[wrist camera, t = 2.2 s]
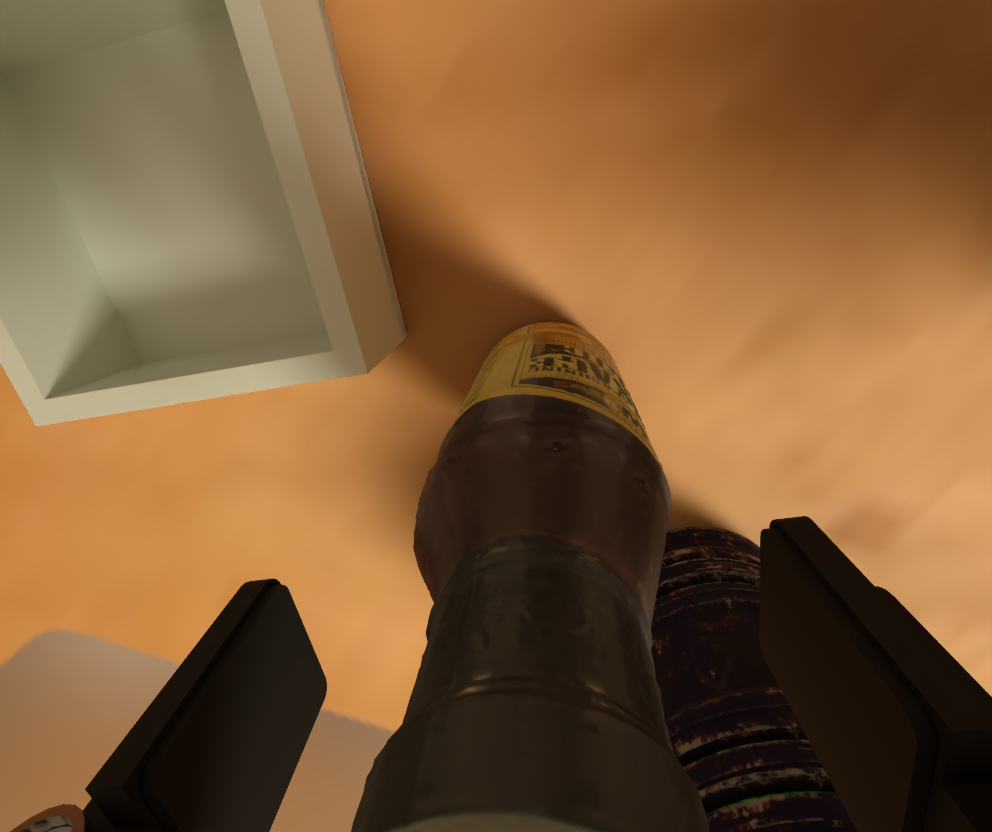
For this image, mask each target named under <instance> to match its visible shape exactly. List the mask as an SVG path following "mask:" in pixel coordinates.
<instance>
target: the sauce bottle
mask: <svg viewBox="0 0 992 832" xmlns="http://www.w3.org/2000/svg"><path fill="white" fill-rule="evenodd" d="M670 513H671V494H670V489H669V485H668V482H667V479H666V476H665V474H664V472H663V469H662V465H661V463H660V462H659V460H658V458H657V456H656V453H655V451H654V449H653V447H652V444H651V442H650V440H649V437H648V435H647V433H646V430H645V426H644V424H643V423H642V420H641V418H640V416H639V414H638V412H637V409H636V407H635V405H634V403H633V401H632V399H631V396H630V394H629V392H628V390H627V388H626V386H625V384H624V381H623V379H622V377H621V375H620V373H619V370H618V368H617V366H616V364H615V362H614V360H613V358H612V356H611V355H610V353H609V352H608V350H607V349H606V348H605V347H604V346H603V345H602V343H600V342H599V341H598V340H597V339H596V338H595V337H594V336H592V335H591V334H589V333H588V332H586V331H584V330H582V329H580V328H578V327H576V326H573V325H569V324H565V323H563V322H560V321H555V320H550V321H547V322H541V323H535V324H530V325H527V326H524V327H521V328H519V329H517V330H515V331H514V332H512V333H510V334H509V335H507V336H506V337H505V338H503V339H502V340H501V341H500V342H499V343H498V344H497V345H496V346H495V347H494V348H493V349H492V350H491V352H490V353H489V355H488V356H487V358H486V360H485V361H484V363H483V365H482V367H481V369H480V371H479V373H478V375H477V377H476V379H475V381H474V383H473V385H472V387H471V389H470V391H469V393H468V395H467V397H466V399H465V401H464V403H463V404H462V406H461V408H460V410H459V412H458V414H457V416H456V417H455V419H454V421H453V423H452V425H451V427H450V429H449V431H448V433H447V435H446V437H445V439H444V441H443V443H442V445H441V447H440V451H439V455H438V459H437V461H436V463H435V465H434V467H433V468H432V469H431V470H430V471H429V472H428V477H427V479H426V483H425V485H424V488H423V490H422V493H421V497H420V500H419V504H418V510H417V514H416V525H415V531H414V546H413V548H414V552H415V556H416V560H417V564H418V567H419V570H420V572H421V575H422V577H423V580H424V582H425V584H426V585H427V588H428V590H429V591H430V595H431V598H432V600H433V601H434V605H433V607H432V609H431V612H430V615H429V620H428V625H427V630H426V637H427V641H428V643H427V646H426V649H425V652H424V654H423V656H422V661H421V667H420V669H419V671H418V675H417V679H416V682H415V685H414V688H413V691H412V694H411V697H410V700H409V703H408V707H407V710H406V714H405V716H404V720H403V724H402V725H401V726H400V728H399V729H398V730H397V731H396V732H395V733H394V734H393V735H392V736H391V738H390V739H389V740H388V741H387V743H386V745H385V746H384V748H383V749H382V750H381V752H380V753H379V754H378V756H377V757H376V758H375V760H374V764H373V767H372V770H371V771H370V773H369V774H368V776H367V778H366V783H365V788H364V792H363V795H362V798H361V801H360V804H359V807H358V810H357V813H356V816H355V819H354V822H353V826H352V830H351V832H709V822H708V819H707V816H706V813H705V810H704V807H703V804H702V801H701V797H700V793H699V790H698V789H697V788H696V786H695V785H694V784H693V782H692V781H691V780H690V778H689V777H688V775H687V773H686V772H685V770H684V769H683V767H682V765H681V764H680V762H679V761H678V759H677V758H676V756H675V755H674V753H673V749H672V745H671V742H670V738H669V732H668V729H667V726H666V723H665V721H664V711H663V706H662V701H661V694H660V688H659V686H658V684H657V681H656V678H655V669H654V662H653V657H652V653H651V647H652V643H653V641H652V634H651V624H652V618H653V612H654V606H655V600H656V594H657V588H658V583H659V577H660V571H661V565H662V559H663V553H664V547H665V541H666V536H667V530H668V524H669V518H670Z"/></svg>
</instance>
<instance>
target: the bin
mask: <svg viewBox="0 0 992 832" xmlns="http://www.w3.org/2000/svg"><path fill="white" fill-rule="evenodd" d="M407 337H408V336H407V332H406V328H405V324H404V320H403V316H402V312H401V308H400V304H399V300H398V296H397V292H396V288H395V284H394V280H393V276H392V273H391V269H390V265H389V261H388V257H387V253H386V249H385V245H384V241H383V237H382V233H381V229H380V225H379V221H378V217H377V213H376V209H375V205H374V201H373V197H372V193H371V189H370V185H369V181H368V177H367V173H366V169H365V165H364V161H363V157H362V154H361V150H360V146H359V142H358V138H357V134H356V130H355V126H354V122H353V118H352V114H351V110H350V106H349V102H348V98H347V94H346V90H345V86H344V82H343V78H342V74H341V70H340V66H339V62H338V58H337V54H336V50H335V46H334V42H333V38H332V34H331V31H330V27H329V23H328V19H327V15H326V11H325V7H324V3H323V0H0V363H1V365H2V367H3V369H4V371H5V372H6V374H7V376H8V378H9V379H10V381H11V383H12V385H13V386H14V388H15V390H16V392H17V394H18V395H19V397H20V399H21V401H22V402H23V404H24V406H25V408H26V409H27V411H28V413H29V415H30V417H31V418H32V420H33V422H34V424H35V425H36V426H42V425H49V424H55V423H61V422H67V421H74V420H80V419H86V418H92V417H99V416H105V415H111V414H117V413H124V412H130V411H136V410H142V409H149V408H155V407H161V406H167V405H174V404H180V403H186V402H192V401H199V400H205V399H211V398H217V397H224V396H230V395H236V394H242V393H249V392H255V391H261V390H267V389H274V388H280V387H286V386H292V385H298V384H305V383H311V382H317V381H323V380H330V379H336V378H342V377H348V376H355V375H361V374H367V373H369V372H370V371H371V370H372V369H373V368H374V367H375V366H376V365H377V364H378V363H380V362H381V361H382V360H383V359H384V358H385V357H386V356H387V355H388V354H389V353H390V352H391V351H393V350H394V349H395V348H396V347H397V346H398V345H399V344H400V343H401V342H402V341H403V340H404V339H406V338H407Z"/></svg>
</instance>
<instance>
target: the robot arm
mask: <svg viewBox="0 0 992 832" xmlns="http://www.w3.org/2000/svg"><path fill="white" fill-rule="evenodd" d="M759 641H760V647H761V650H762V654H763V656H764V659H765V661H766V663H767V665H768V666H769V668H770V670H771V672H772V674H773V676H774V678H775V679H776V681H777V683H778V685H779V687H780V689H781V691H782V692H783V694H784V696H785V698H786V700H787V702H788V704H789V705H790V707H791V709H792V711H793V713H794V715H795V717H796V718H797V720H798V722H799V724H800V726H801V728H802V729H803V731H804V733H805V735H806V737H807V739H808V741H809V742H810V744H811V746H812V748H813V750H814V752H815V754H816V755H817V757H818V759H819V761H820V763H821V765H822V767H823V768H824V770H825V772H826V774H827V776H828V778H829V780H830V781H831V783H832V785H833V787H834V789H835V791H836V792H837V794H838V796H839V798H840V800H841V802H842V804H843V805H844V807H845V809H846V811H847V813H848V815H849V817H850V818H851V820H852V822H853V824H854V826H855V828H856V830H857V831H858V832H992V697H991V696H990V695H989V694H988V693H987V692H986V691H985V690H984V689H983V688H982V687H981V686H980V685H979V684H978V683H977V681H976V680H975V679H974V678H973V677H972V676H971V675H970V674H969V673H968V672H967V671H966V670H965V669H964V668H963V667H962V666H961V665H960V664H959V663H958V662H957V661H956V660H955V659H954V658H953V657H952V656H951V655H950V654H949V653H948V652H947V651H946V650H945V649H944V647H943V646H942V645H941V644H940V643H939V642H938V641H937V640H936V639H935V638H934V637H933V636H932V635H931V634H930V633H929V632H928V631H927V630H926V629H925V628H924V627H923V626H922V625H921V624H920V623H919V622H918V621H917V620H916V619H915V618H914V617H913V616H912V614H911V613H910V612H909V611H908V610H907V609H906V608H905V607H904V606H903V605H902V604H901V603H900V602H899V601H898V600H897V599H896V598H895V597H894V596H893V595H892V594H890V593H889V592H888V591H887V590H886V589H883V588H881V587H878V586H877V587H875V586H874V585H873V584H872V583H871V582H870V581H869V580H868V579H867V578H866V577H865V576H864V575H863V574H862V572H861V571H860V570H859V569H858V568H857V567H856V566H855V565H854V564H853V563H852V562H851V561H850V560H849V559H848V558H847V557H846V556H845V554H844V553H843V552H842V551H841V550H840V549H839V548H838V547H837V546H836V545H835V544H834V543H833V542H832V541H831V540H830V539H829V538H828V536H827V535H826V534H825V533H824V532H823V531H822V530H821V529H820V528H819V527H818V526H817V525H816V524H815V523H814V522H813V521H812V520H811V519H810V518H809V517H806V516H801V517H793V518H784V519H776V520H773V521H771V523H770V527H769V529H763V530H762V531H761V536H760V620H759ZM326 691H327V681H326V677H325V675H324V673H323V670H322V668H321V665H320V663H319V661H318V658H317V656H316V653H315V651H314V649H313V646H312V644H311V642H310V639H309V637H308V634H307V632H306V630H305V627H304V625H303V623H302V620H301V618H300V615H299V613H298V611H297V608H296V606H295V603H294V601H293V599H292V596H291V594H290V592H289V590H288V588H287V587H286V586H285V585H281V583H280V582H279V581H278V580H277V579H266V580H257V581H249V582H246V583H244V584H243V585H242V586H241V587H240V589H239V590H238V591H237V593H236V594H235V595H234V596H233V598H232V599H231V600H230V602H229V603H228V604H227V606H226V607H225V608H224V609H223V611H222V612H221V613H220V615H219V616H218V617H217V618H216V620H215V621H214V622H213V624H212V625H211V626H210V628H209V629H208V630H207V631H206V633H205V634H204V635H203V637H202V638H201V639H200V641H199V642H198V643H197V644H196V646H195V647H194V648H193V650H192V651H191V652H190V654H189V655H188V656H187V657H186V659H185V660H184V661H183V663H182V664H181V665H180V667H179V668H178V669H177V670H176V672H175V673H174V674H173V676H172V677H171V678H170V680H169V681H168V682H167V683H166V685H165V686H164V687H163V689H162V690H161V691H160V692H159V694H158V695H157V696H156V698H155V699H154V700H153V702H152V703H151V704H150V705H149V707H148V708H147V710H146V711H145V712H144V713H143V715H142V716H141V717H140V719H139V720H138V721H137V722H136V724H135V725H134V726H133V728H132V729H131V730H130V731H129V733H128V734H127V735H126V737H125V738H124V739H123V741H122V742H121V743H120V744H119V746H118V747H117V748H116V750H115V751H114V752H113V754H112V755H111V756H110V757H109V759H108V760H107V761H106V763H105V764H104V765H103V767H102V768H101V769H100V770H99V772H98V773H97V774H96V776H95V777H94V778H93V780H92V781H91V782H90V783H89V785H88V786H87V787H86V789H85V790H86V791H87V792H88V794H89V795H90V797H91V798H92V799H91V800H90V802H89V803H88V804H87V806H86V807H85V809H84V810H81V809H80V808H79V807H77V806H76V805H69V804H62V805H59V806H56V807H52V808H49V809H46V810H44V811H42V812H40V813H38V814H36V815H34V816H32V817H30V818H29V819H27V820H26V821H25V822H23V823H22V824H20V825H19V826H17V827H16V828H14V829H13V830H12V831H10V832H269V831H270V829H271V826H272V824H273V821H274V819H275V817H276V814H277V812H278V810H279V807H280V805H281V802H282V800H283V798H284V795H285V793H286V790H287V788H288V785H289V783H290V780H291V778H292V776H293V773H294V771H295V769H296V766H297V764H298V762H299V759H300V756H301V754H302V752H303V750H304V747H305V745H306V742H307V740H308V738H309V735H310V733H311V730H312V728H313V726H314V723H315V721H316V718H317V716H318V714H319V711H320V709H321V706H322V704H323V702H324V699H325V696H326Z"/></svg>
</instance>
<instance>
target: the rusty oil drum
mask: <svg viewBox="0 0 992 832" xmlns="http://www.w3.org/2000/svg"><path fill="white" fill-rule="evenodd" d="M759 620H760V547H759V546H757V545H756V544H755V543H753V542H752V541H750V540H748V539H746V538H744V537H742V536H740V535H738V534H735V533H732V532H729V531H726V530H722V529H716V528H710V527H688V528H678V529H674V530H669V531H667V536H666V541H665V547H664V553H663V559H662V565H661V571H660V577H659V583H658V588H657V594H656V600H655V606H654V612H653V618H652V624H651V634H652V641H653V643H652V647H651V653H652V657H653V662H654V669H655V678H656V681H657V684H658V686H659V688H660V694H661V701H662V706H663V711H664V721H665V723H666V726H667V729H668V732H669V738H670V742H671V745H672V749H673V753H674V755H675V756H676V758H677V759H678V761H679V762H680V764H681V765H682V767H683V769H684V770H685V772H686V773H687V775H688V777H689V778H690V780H691V781H692V782H693V784H694V785H695V786H696V788H697V789H698V790H699V793H700V797H701V801H702V804H703V807H704V810H705V813H706V816H707V819H708V822H709V832H858V831H857V830H856V828H855V826H854V824H853V822H852V820H851V818H850V817H849V815H848V813H847V811H846V809H845V807H844V805H843V804H842V802H841V800H840V798H839V796H838V794H837V792H836V791H835V789H834V787H833V785H832V783H831V781H830V780H829V778H828V776H827V774H826V772H825V770H824V768H823V767H822V765H821V763H820V761H819V759H818V757H817V755H816V754H815V752H814V750H813V748H812V746H811V744H810V742H809V741H808V739H807V737H806V735H805V733H804V731H803V729H802V728H801V726H800V724H799V722H798V720H797V718H796V717H795V715H794V713H793V711H792V709H791V707H790V705H789V704H788V702H787V700H786V698H785V696H784V694H783V692H782V691H781V689H780V687H779V685H778V683H777V681H776V679H775V678H774V676H773V674H772V672H771V670H770V668H769V666H768V665H767V663H766V661H765V659H764V656H763V654H762V650H761V647H760V641H759Z"/></svg>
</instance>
